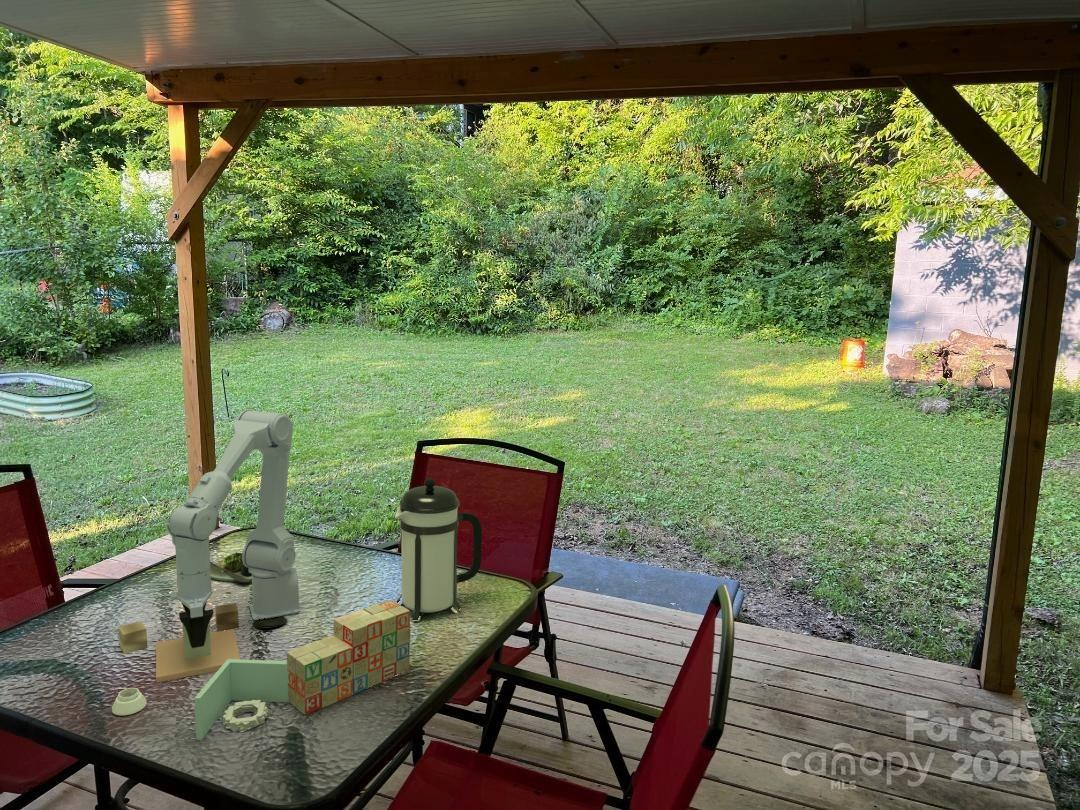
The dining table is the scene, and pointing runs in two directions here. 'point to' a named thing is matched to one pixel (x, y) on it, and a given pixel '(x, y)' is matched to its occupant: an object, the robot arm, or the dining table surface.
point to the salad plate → (231, 569)
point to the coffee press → (433, 548)
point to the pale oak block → (132, 637)
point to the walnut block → (226, 617)
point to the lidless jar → (129, 702)
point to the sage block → (197, 651)
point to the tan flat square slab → (176, 667)
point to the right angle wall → (241, 694)
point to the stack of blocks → (350, 657)
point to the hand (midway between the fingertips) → (196, 637)
